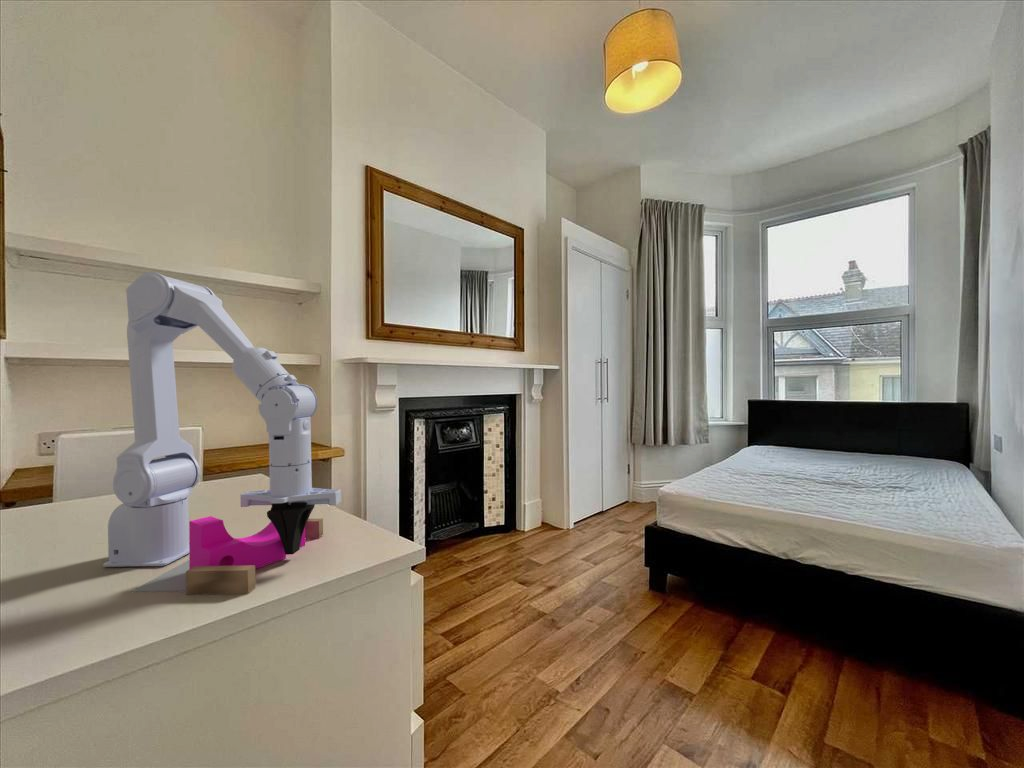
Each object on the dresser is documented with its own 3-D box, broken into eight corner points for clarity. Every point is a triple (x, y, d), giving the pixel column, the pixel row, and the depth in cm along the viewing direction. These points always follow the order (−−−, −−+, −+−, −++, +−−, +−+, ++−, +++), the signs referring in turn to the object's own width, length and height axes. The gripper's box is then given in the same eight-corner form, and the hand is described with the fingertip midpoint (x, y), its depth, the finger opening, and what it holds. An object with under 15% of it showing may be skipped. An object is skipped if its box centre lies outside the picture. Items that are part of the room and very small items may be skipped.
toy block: (209, 584, 56) (209, 528, 56) (189, 574, 60) (189, 521, 60) (314, 548, 69) (313, 502, 69) (292, 540, 72) (292, 497, 72)
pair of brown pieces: (186, 594, 54) (185, 571, 54) (278, 536, 75) (278, 519, 75) (248, 593, 54) (247, 570, 54) (323, 535, 75) (322, 518, 75)
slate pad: (131, 595, 55) (130, 591, 55) (229, 541, 74) (229, 538, 74) (190, 594, 55) (190, 590, 55) (273, 540, 74) (273, 537, 74)
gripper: (225, 469, 61) (227, 563, 60) (326, 467, 60) (327, 562, 60) (256, 460, 68) (257, 545, 68) (345, 458, 67) (347, 543, 67)
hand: (292, 551), depth 64 cm, fingers closed
